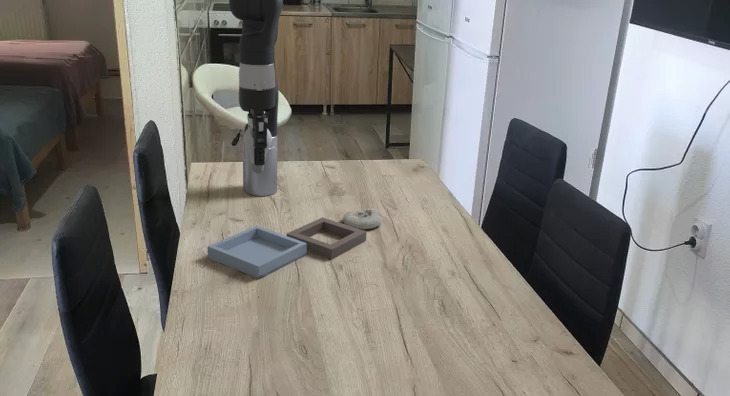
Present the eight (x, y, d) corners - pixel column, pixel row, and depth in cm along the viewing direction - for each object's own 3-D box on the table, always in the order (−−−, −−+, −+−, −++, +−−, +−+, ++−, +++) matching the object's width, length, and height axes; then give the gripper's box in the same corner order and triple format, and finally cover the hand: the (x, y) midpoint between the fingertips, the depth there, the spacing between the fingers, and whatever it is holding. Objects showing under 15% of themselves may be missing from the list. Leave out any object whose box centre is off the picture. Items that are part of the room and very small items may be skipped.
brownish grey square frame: (286, 243, 159) (286, 233, 158) (322, 226, 170) (322, 217, 169) (331, 259, 152) (332, 249, 151) (366, 240, 162) (366, 231, 162)
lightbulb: (246, 178, 140) (245, 129, 137) (242, 169, 146) (241, 122, 142) (274, 177, 142) (274, 128, 139) (269, 168, 148) (269, 121, 144)
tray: (207, 258, 149) (207, 246, 148) (256, 236, 161) (256, 225, 160) (259, 279, 141) (259, 266, 140) (306, 254, 153) (306, 243, 152)
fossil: (362, 200, 179) (392, 213, 174) (360, 212, 180) (389, 225, 175) (337, 210, 170) (367, 224, 165) (335, 222, 172) (364, 237, 167)
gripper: (236, 78, 143) (237, 151, 149) (242, 91, 130) (243, 171, 136) (270, 78, 145) (270, 150, 151) (279, 91, 132) (279, 170, 138)
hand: (257, 160), depth 143 cm, fingers closed on lightbulb, 5 cm apart
